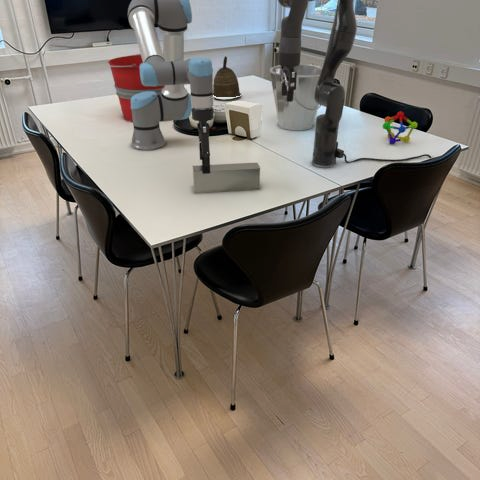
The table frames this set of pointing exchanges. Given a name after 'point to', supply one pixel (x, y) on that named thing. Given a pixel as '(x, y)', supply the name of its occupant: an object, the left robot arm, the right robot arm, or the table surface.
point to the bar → (227, 177)
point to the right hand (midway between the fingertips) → (286, 98)
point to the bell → (225, 82)
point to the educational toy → (398, 128)
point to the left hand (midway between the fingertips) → (204, 166)
